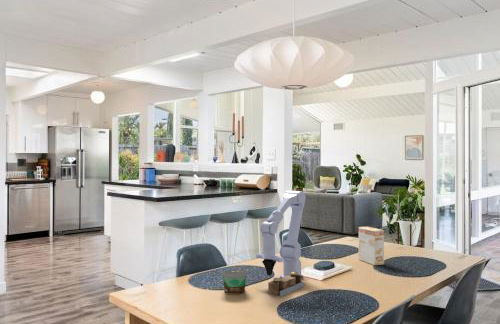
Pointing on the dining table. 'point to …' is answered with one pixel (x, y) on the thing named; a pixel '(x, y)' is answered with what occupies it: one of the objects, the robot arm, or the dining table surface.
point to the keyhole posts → (281, 278)
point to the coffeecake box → (371, 245)
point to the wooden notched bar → (283, 284)
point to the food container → (234, 281)
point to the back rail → (291, 288)
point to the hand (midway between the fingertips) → (269, 274)
